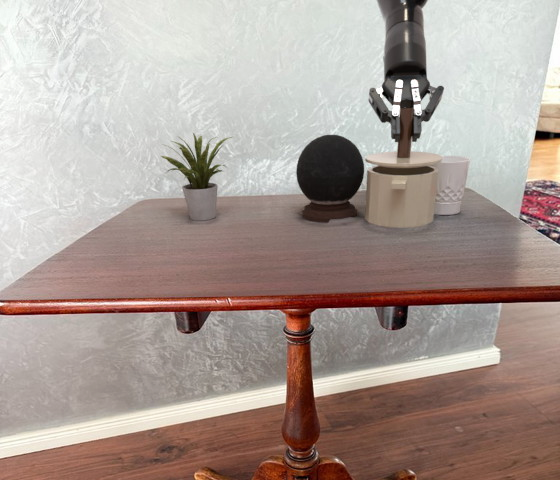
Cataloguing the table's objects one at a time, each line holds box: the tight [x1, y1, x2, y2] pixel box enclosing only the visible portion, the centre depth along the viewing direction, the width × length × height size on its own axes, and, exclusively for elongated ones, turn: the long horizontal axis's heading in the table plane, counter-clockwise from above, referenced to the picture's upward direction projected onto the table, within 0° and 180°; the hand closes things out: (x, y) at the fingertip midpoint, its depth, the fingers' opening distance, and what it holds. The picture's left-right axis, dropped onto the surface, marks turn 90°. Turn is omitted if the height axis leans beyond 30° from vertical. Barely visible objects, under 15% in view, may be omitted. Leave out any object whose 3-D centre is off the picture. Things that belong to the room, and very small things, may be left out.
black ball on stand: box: [296, 134, 365, 223], centre depth 106 cm, size 13×13×15 cm
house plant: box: [160, 132, 233, 222], centre depth 108 cm, size 14×14×16 cm
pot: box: [364, 165, 438, 229], centre depth 101 cm, size 13×18×10 cm
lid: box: [364, 107, 443, 168], centre depth 96 cm, size 14×14×9 cm
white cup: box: [429, 155, 471, 216], centre depth 107 cm, size 8×8×10 cm
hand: (406, 138), depth 95 cm, fingers closed on lid, 2 cm apart
